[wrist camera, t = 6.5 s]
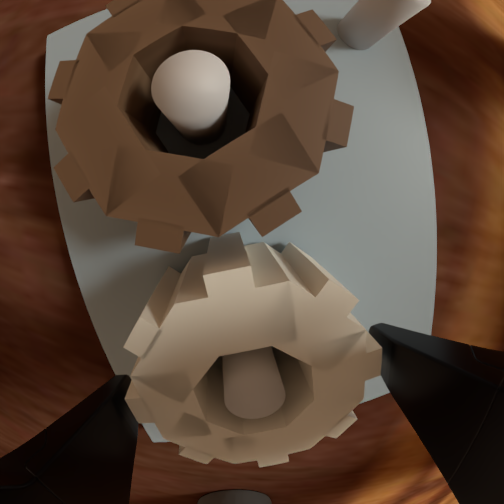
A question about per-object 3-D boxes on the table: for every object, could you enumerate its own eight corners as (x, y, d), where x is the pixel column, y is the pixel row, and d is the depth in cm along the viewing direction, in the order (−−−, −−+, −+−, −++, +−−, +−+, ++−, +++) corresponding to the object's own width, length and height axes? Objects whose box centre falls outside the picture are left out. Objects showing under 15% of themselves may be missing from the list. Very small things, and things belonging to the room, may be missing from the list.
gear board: (413, 366, 14) (464, 422, 9) (156, 426, 13) (142, 505, 8) (372, 0, 9) (430, -51, 4) (58, 44, 8) (-5, -2, 3)
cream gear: (337, 373, 12) (373, 436, 8) (182, 405, 11) (174, 475, 8) (323, 215, 10) (381, 237, 6) (127, 255, 10) (79, 298, 6)
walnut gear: (339, 156, 10) (402, 147, 6) (174, 262, 10) (149, 311, 6) (235, 9, 8) (244, -57, 4) (75, 109, 8) (14, 82, 4)
